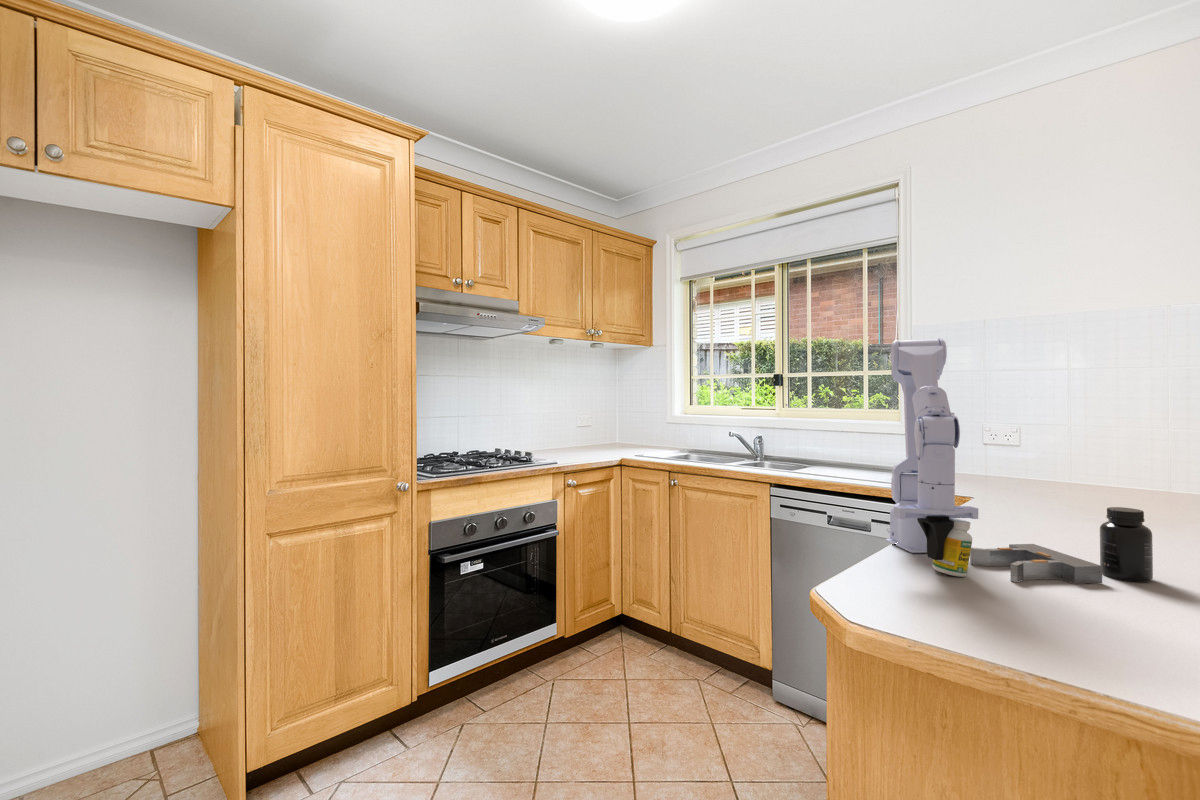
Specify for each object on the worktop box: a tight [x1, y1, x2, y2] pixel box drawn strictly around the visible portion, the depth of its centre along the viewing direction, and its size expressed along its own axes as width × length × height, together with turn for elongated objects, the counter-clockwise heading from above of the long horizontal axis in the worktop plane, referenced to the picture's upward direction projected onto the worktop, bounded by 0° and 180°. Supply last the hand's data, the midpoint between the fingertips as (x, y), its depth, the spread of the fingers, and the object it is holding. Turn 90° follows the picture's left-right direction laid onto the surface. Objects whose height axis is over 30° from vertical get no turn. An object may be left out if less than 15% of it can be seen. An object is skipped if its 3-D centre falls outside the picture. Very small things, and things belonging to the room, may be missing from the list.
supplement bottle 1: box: [932, 518, 973, 578], centre depth 100 cm, size 5×5×10 cm
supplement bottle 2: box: [1099, 506, 1154, 583], centre depth 99 cm, size 7×7×12 cm
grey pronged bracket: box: [969, 543, 1103, 585], centre depth 102 cm, size 14×15×3 cm
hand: (935, 558), depth 100 cm, fingers closed, pressing on supplement bottle 1
